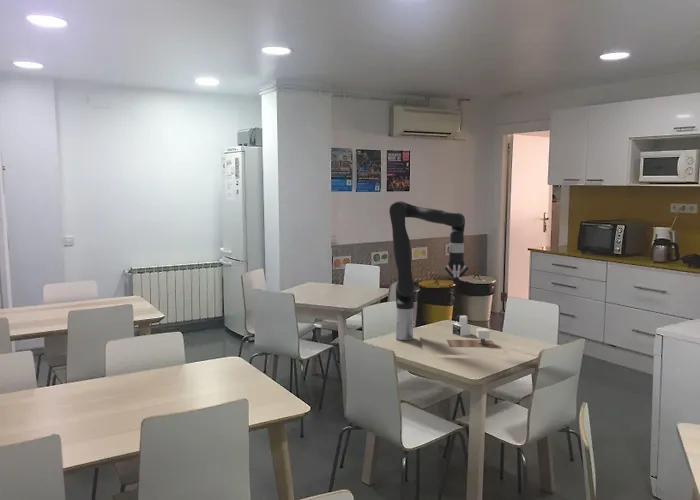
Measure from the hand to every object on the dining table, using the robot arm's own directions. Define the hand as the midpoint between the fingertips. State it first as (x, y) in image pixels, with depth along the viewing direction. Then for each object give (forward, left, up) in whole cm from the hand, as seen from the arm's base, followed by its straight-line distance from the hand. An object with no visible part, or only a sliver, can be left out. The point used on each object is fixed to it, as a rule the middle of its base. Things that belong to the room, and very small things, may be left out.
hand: (455, 284), depth 292 cm
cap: (+14, -4, -27) cm, 31 cm away
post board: (+8, -4, -32) cm, 33 cm away
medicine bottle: (+6, +16, -32) cm, 36 cm away
